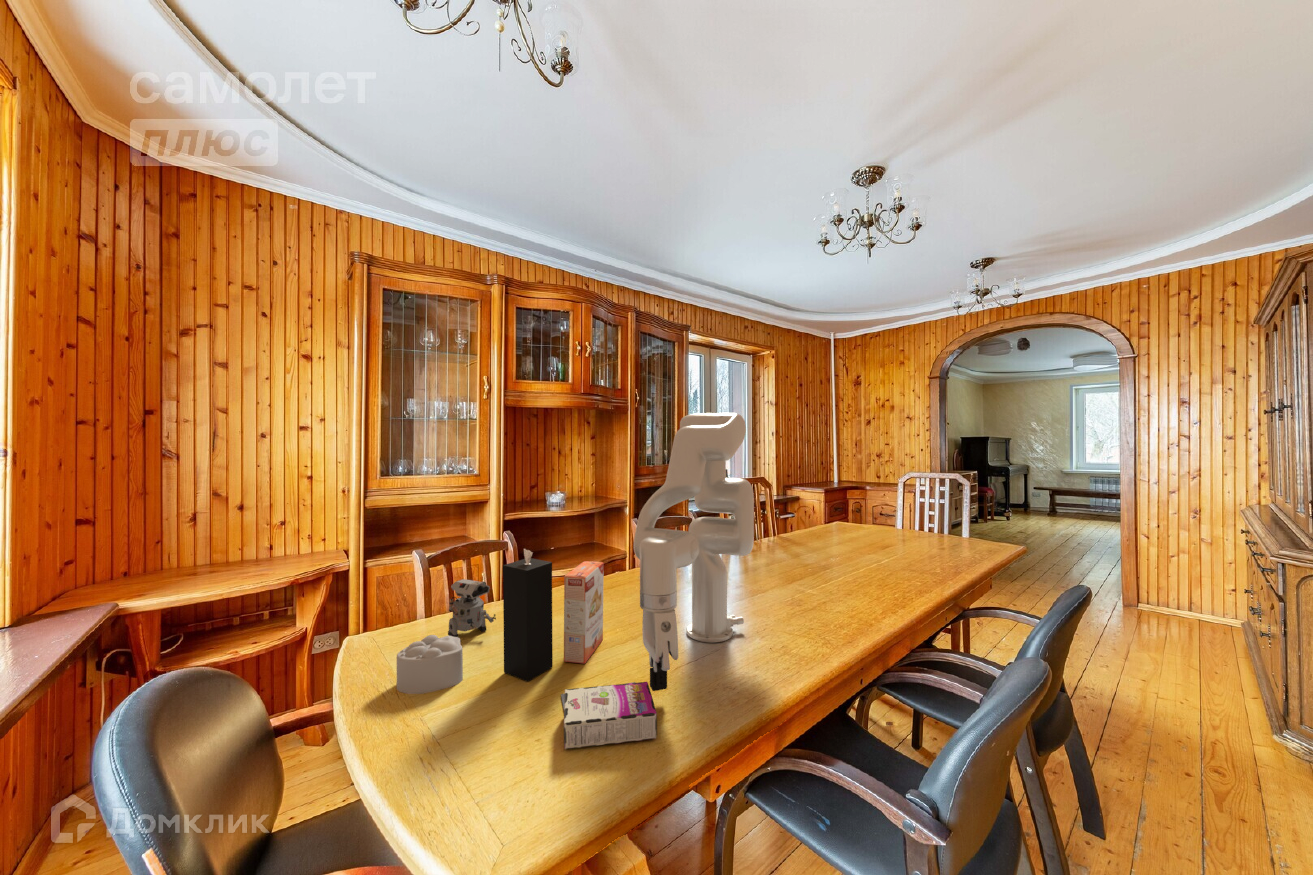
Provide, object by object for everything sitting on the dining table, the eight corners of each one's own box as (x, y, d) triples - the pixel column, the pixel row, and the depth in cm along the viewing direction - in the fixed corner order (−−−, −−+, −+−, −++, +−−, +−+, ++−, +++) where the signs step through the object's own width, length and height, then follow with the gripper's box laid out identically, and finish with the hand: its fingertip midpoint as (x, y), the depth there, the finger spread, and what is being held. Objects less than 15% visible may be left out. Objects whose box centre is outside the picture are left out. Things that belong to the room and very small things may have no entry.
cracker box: (586, 665, 113) (586, 576, 113) (562, 662, 114) (562, 575, 114) (604, 639, 127) (604, 561, 126) (583, 637, 128) (582, 559, 128)
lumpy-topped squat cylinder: (464, 684, 105) (463, 644, 105) (396, 700, 99) (396, 658, 98) (459, 663, 114) (458, 627, 114) (396, 677, 108) (396, 639, 108)
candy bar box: (648, 705, 96) (564, 712, 93) (648, 680, 96) (564, 687, 93) (657, 741, 85) (562, 750, 82) (657, 713, 85) (563, 721, 82)
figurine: (462, 648, 122) (461, 589, 122) (445, 634, 130) (445, 579, 130) (496, 637, 128) (496, 581, 128) (478, 625, 137) (478, 572, 136)
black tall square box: (527, 682, 105) (526, 555, 105) (503, 673, 109) (502, 550, 109) (553, 667, 112) (552, 548, 111) (529, 659, 116) (528, 543, 116)
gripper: (688, 609, 92) (689, 704, 92) (664, 585, 106) (664, 668, 106) (651, 613, 89) (651, 711, 90) (631, 589, 104) (631, 673, 104)
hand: (658, 687), depth 98 cm, fingers closed
